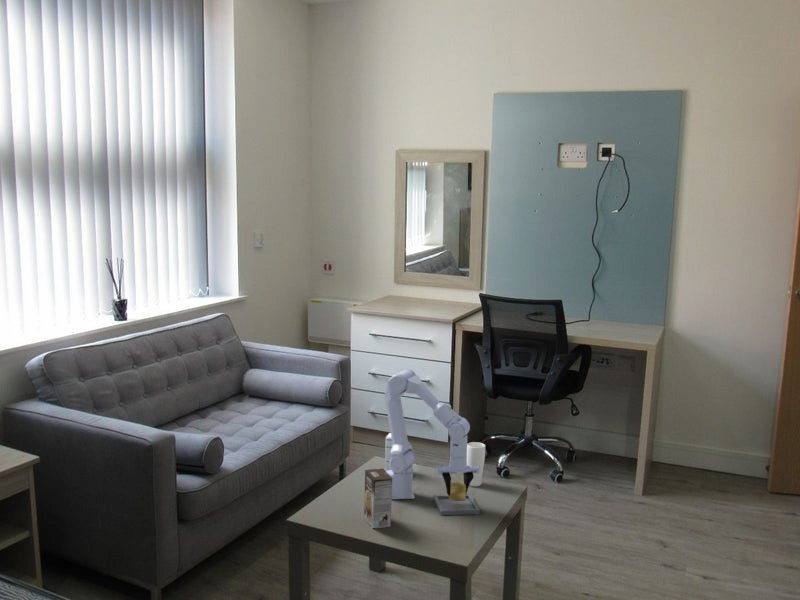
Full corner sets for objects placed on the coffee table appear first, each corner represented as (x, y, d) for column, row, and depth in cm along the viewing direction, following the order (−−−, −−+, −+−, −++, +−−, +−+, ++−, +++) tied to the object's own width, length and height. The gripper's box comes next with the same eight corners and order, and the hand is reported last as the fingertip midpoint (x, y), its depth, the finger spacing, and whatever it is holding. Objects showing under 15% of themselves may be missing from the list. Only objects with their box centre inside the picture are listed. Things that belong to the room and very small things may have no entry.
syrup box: (399, 475, 269) (400, 438, 267) (384, 473, 270) (385, 436, 268) (402, 470, 275) (403, 433, 273) (387, 468, 276) (388, 432, 274)
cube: (450, 501, 239) (451, 486, 238) (447, 495, 244) (448, 481, 243) (465, 500, 240) (466, 486, 239) (462, 495, 245) (462, 481, 244)
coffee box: (363, 517, 232) (364, 469, 230) (381, 514, 234) (383, 467, 232) (372, 529, 223) (373, 479, 221) (391, 526, 225) (393, 477, 223)
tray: (440, 515, 235) (441, 510, 235) (433, 499, 248) (433, 495, 248) (479, 514, 237) (479, 509, 237) (470, 498, 250) (470, 494, 250)
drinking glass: (482, 488, 259) (485, 448, 257) (464, 486, 260) (466, 446, 258) (483, 482, 265) (486, 442, 263) (465, 480, 266) (467, 441, 265)
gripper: (439, 459, 235) (437, 498, 237) (482, 458, 237) (480, 497, 239) (435, 452, 242) (433, 490, 244) (476, 451, 244) (475, 489, 246)
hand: (456, 493), depth 242 cm, fingers closed on cube, 5 cm apart
